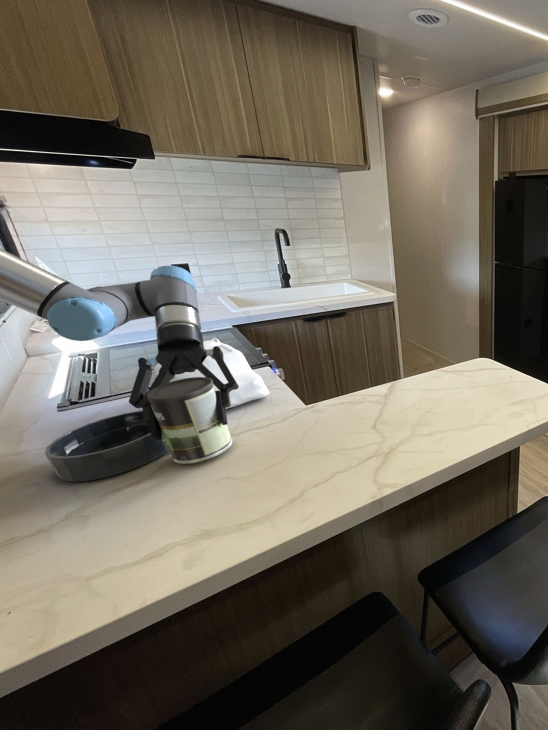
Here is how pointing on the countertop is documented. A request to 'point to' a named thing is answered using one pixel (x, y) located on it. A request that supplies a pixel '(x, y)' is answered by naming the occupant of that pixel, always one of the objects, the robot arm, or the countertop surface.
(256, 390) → the white bag
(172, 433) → the coffee can
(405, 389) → the countertop surface
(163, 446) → the shallow grey round dish
